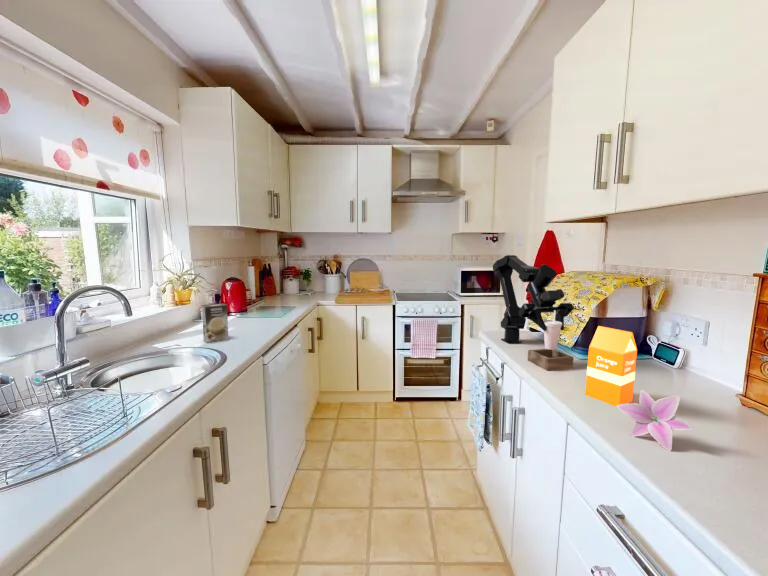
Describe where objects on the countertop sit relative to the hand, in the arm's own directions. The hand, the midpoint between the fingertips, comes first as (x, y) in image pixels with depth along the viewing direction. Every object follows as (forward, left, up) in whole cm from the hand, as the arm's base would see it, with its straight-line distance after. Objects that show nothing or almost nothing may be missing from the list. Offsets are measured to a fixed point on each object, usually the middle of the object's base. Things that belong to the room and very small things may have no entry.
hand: (554, 330), depth 117 cm
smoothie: (-1, 0, -7) cm, 7 cm away
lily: (+44, -10, -13) cm, 47 cm away
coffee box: (-61, -126, -13) cm, 141 cm away
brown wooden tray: (-1, 0, -13) cm, 13 cm away
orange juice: (+26, -3, -13) cm, 29 cm away
